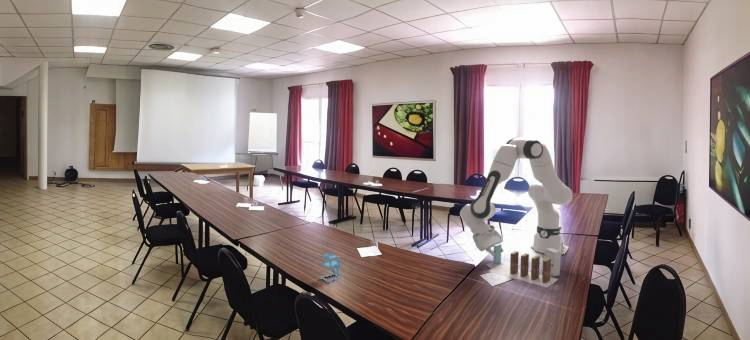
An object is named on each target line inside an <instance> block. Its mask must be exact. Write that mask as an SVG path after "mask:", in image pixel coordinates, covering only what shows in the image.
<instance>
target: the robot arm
mask: <svg viewBox="0 0 750 340" xmlns="http://www.w3.org/2000/svg"><path fill="white" fill-rule="evenodd" d="M518 159H524V160H525V159H526V160H527V159H528V160H529V161H528V162H529V165H530V168H531V172H532V174H533V175H532V176H533V177H534V180H536V181H538V182H533V183H531V184H530V185H529V187H528V190H527V192H528V196H529V198H530V199H531V200H532V202H533V203H534V205H535V207H536V211H537V226H536V233H535V234H534V237H533V245H531V246H530V248H531V249H532V250H534V251H535V252H537V253H540V254H544V255H545V249H547V248H553V249H556V250H558V251H561V255H563V254H564V255H566V254H567V252H568V250H569V246H568V245H565V238H564V237H563V235H561V230H562V226H560V214H559V212H558V211H557V210H556V209H555V208H554V205H568V204H570V203H571V202H572V200H573V191H572V189H571V188H570V187H569V186H567V185H566V184H565V183H564V182H563V181H562V180H561V179H560V178H559V176H558V174H557V173H556V170H555V167H554V164H553V160H552V156H551V154H550V152H549V150H548V147H547V145H546V144H544V143H542V142H540V140H537V139H534V138H526V137H512V138H510V139H508V141H506V143H505V144H503V145H501V146H500V147H499V149H498V150H497V152H496V154H495V156H494V157H493V160H492V163H491V165H490V168H489V171H488V174H487V177H486V179H485V182H484V183H483V185H482V187H481V190H480V192H479V193H478V196H477V197H476V198H475V199H474V200H473V201H472V202H471V203H470V204H469V203H467V204H465V205H464V206H463V207H462V208H461V209H460V212H459V215H460V217H461V219H462V221H463V222H464V224H465V225H466V226H467V227H468V228H469V229H470V232H471V233H472V239H473V242H474V244H475V246H476V247H477V249H478V250H479V251H480V252H484V251H486V252H487V253H489V254H490V255H491V256H492V257H493V256H495V255H496V253H495V251H494V250H492V248H494V245H496V244H502V243H503V241H504V239H503V237H502V235H501V234H500V233H499V232H498V231H497V230H496V227H495V226H494V225H492V224H488V223H486V222H485V221H487V220H489V219H491V218H493V216H495V214H496V210H497V209H496V206H495V204H494V203H492V202H491V200H492V199H493V196H494V194H495V192H496V189H497V188H498V186H499V185H500V184H502V183H503V182H505V181H507V180H508V179H509V178H510V176H511V174H512V173H513V170H514V168H515V166H516V162H517V161H518ZM503 252H504V249H503V247H502V246H501V253H503ZM565 253H566V254H565Z"/></svg>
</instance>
